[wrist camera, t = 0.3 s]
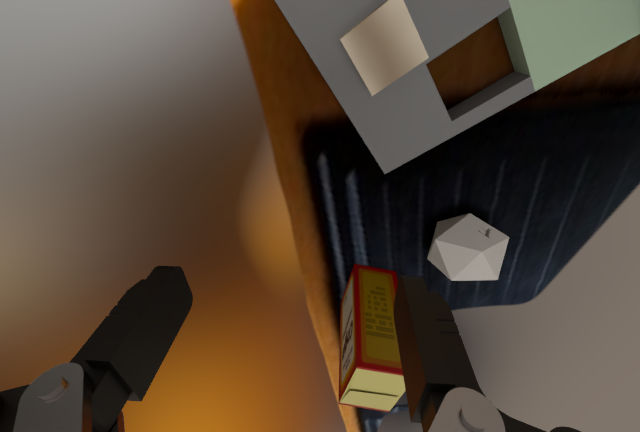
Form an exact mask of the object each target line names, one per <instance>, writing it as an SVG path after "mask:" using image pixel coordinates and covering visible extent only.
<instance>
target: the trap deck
mask: <svg viewBox="0 0 640 432" xmlns="http://www.w3.org/2000/svg"><path fill="white" fill-rule="evenodd" d="M385 1H386V0H275V2H276V3H277V5H278V6H279V8H280V10H281V11H282V13H283V14H284V16H285V17H286V19H287V21H288V22H289V24H290V25H291V27H292V28H293V30H294V32H295V33H296V35H297V36H298V38H299V39H300V41H301V43H302V44H303V46H304V47H305V49H306V51H307V52H308V54H309V55H310V57H311V58H312V60H313V62H314V63H315V65H316V66H317V68H318V69H319V71H320V73H321V74H322V76H323V77H324V79H325V81H326V82H327V84H328V85H329V87H330V88H331V90H332V92H333V93H334V95H335V96H336V98H337V99H338V101H339V103H340V104H341V106H342V107H343V109H344V110H345V112H346V114H347V115H348V117H349V118H350V120H351V122H352V123H353V125H354V126H355V128H356V129H357V131H358V133H359V134H360V136H361V137H362V139H363V140H364V142H365V144H366V145H367V147H368V148H369V150H370V152H371V153H372V155H373V156H374V158H375V159H376V161H377V163H378V164H379V166H380V167H381V169H382V170H383V172H384V174H386V173H388V172H390V171H392V170H393V169H395V168H397V167H399V166H401V165H402V164H404V163H406V162H408V161H410V160H412V159H413V158H415V157H417V156H419V155H421V154H422V153H424V152H426V151H428V150H430V149H431V148H433V147H435V146H437V145H439V144H441V143H442V142H444V141H446V140H448V139H450V138H451V137H453V136H455V135H457V134H459V133H461V132H462V131H464V130H466V129H468V128H470V127H471V126H473V125H475V124H477V123H479V122H480V121H482V120H484V119H486V118H488V117H490V116H491V115H493V114H495V113H497V112H499V111H500V110H502V109H504V108H506V107H508V106H510V105H511V104H513V103H515V102H517V101H519V100H520V99H522V98H524V97H526V96H528V95H529V94H531V93H533V92H535V91H537V90H539V89H540V88H542V87H544V86H546V85H548V84H549V83H551V82H553V81H555V80H557V79H559V78H560V77H562V76H564V75H566V74H568V73H569V72H571V71H573V70H575V69H577V68H578V67H580V66H582V65H584V64H586V63H588V62H589V61H591V60H593V59H595V58H597V57H598V56H600V55H602V54H604V53H606V52H608V51H609V50H611V49H613V48H615V47H617V46H618V45H620V44H622V43H624V42H626V41H627V40H629V39H631V38H633V37H635V36H637V35H638V34H640V0H404V3H405V5H406V7H407V9H408V12H409V14H410V16H411V18H412V21H413V23H414V25H415V27H416V30H417V32H418V34H419V36H420V39H421V41H422V43H423V45H424V48H425V50H426V52H427V54H428V57H429V58H428V59H426V60H425V61H424V62H422V63H421V64H419V65H418V66H416V67H415V68H413V69H412V70H410V71H409V72H407V73H406V74H404V75H403V76H401V77H400V78H398V79H397V80H396V81H394V82H393V83H391V84H390V85H388V86H387V87H385V88H384V89H382V90H381V91H379V92H378V93H376V94H375V95H373V96H372V95H371V93H370V91H369V90H368V88H367V86H366V84H365V83H364V81H363V79H362V77H361V76H360V74H359V72H358V70H357V69H356V67H355V65H354V63H353V62H352V60H351V58H350V56H349V55H348V53H347V51H346V49H345V48H344V46H343V44H342V42H341V41H340V38H341V37H342V36H343V35H344V34H345V33H347V32H348V31H349V30H350V29H352V28H353V27H354V26H355V25H356V24H358V23H359V22H360V21H361V20H363V19H364V18H365V17H366V16H368V15H369V14H370V13H371V12H373V11H374V10H375V9H376V8H378V7H379V6H380V5H381V4H382V3H384V2H385ZM495 17H498V20H499V24H500V27H501V30H502V33H503V36H504V40H505V43H506V46H507V49H508V52H509V55H510V59H511V62H512V65H513V68H514V72H512V73H510V74H508V75H507V76H505V77H503V78H502V79H500V80H498V81H497V82H495V83H493V84H492V85H490V86H488V87H486V88H485V89H483V90H481V91H480V92H478V93H476V94H475V95H473V96H471V97H470V98H468V99H466V100H464V101H463V102H461V103H459V104H458V105H456V106H454V107H453V108H451V109H449V110H446V108H445V106H444V103H443V101H442V99H441V97H440V95H439V92H438V90H437V88H436V86H435V84H434V81H433V79H432V77H431V75H430V73H429V70H428V68H427V66H426V64H427V63H429V62H430V61H432V60H433V59H435V58H436V57H437V56H439V55H440V54H442V53H443V52H445V51H446V50H448V49H449V48H451V47H452V46H454V45H455V44H457V43H458V42H460V41H461V40H463V39H464V38H466V37H467V36H469V35H470V34H472V33H473V32H475V31H476V30H478V29H479V28H481V27H482V26H484V25H485V24H487V23H488V22H489V21H491V20H492V19H494V18H495Z"/></svg>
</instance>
